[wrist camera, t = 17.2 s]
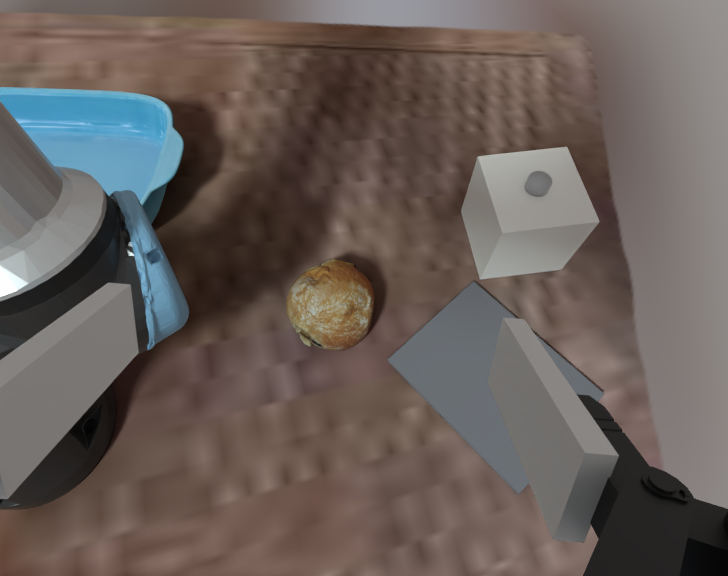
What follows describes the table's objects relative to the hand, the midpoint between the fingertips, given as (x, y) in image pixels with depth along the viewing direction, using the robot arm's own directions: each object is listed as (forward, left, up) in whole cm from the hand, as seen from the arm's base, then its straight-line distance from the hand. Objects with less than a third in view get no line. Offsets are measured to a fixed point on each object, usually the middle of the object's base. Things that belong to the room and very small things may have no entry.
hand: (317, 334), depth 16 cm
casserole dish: (-51, -6, -33) cm, 61 cm away
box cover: (-5, +31, -33) cm, 45 cm away
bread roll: (-13, +9, -33) cm, 36 cm away
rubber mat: (+5, +16, -33) cm, 37 cm away
